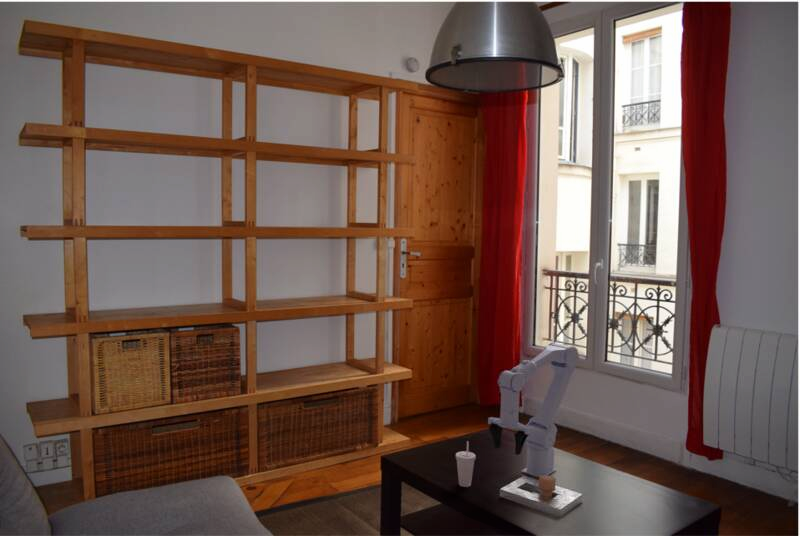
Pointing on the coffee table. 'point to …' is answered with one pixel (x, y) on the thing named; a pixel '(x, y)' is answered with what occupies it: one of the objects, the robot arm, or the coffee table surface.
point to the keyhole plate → (541, 496)
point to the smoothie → (465, 466)
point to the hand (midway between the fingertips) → (507, 450)
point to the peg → (547, 485)
